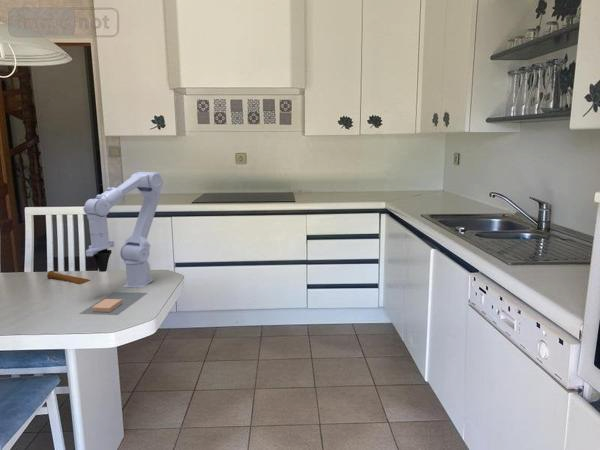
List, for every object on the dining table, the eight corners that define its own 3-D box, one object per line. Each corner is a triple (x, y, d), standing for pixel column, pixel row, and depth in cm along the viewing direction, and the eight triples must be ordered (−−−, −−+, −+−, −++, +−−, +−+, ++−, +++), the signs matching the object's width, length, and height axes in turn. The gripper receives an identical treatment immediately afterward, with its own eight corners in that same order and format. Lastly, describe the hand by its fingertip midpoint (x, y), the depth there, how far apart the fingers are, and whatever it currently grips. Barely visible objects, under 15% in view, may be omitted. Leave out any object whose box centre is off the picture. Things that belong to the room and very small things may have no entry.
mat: (114, 293, 164) (113, 292, 164) (147, 294, 162) (147, 292, 162) (79, 314, 144) (79, 313, 144) (117, 316, 142) (117, 314, 142)
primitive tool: (91, 281, 180) (90, 272, 180) (81, 285, 175) (80, 276, 175) (53, 277, 186) (52, 269, 186) (42, 281, 181) (41, 273, 180)
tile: (105, 298, 152) (91, 307, 144) (122, 299, 151) (109, 307, 144) (105, 303, 152) (92, 312, 145) (122, 303, 152) (109, 312, 144)
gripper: (100, 229, 164) (103, 265, 166) (75, 237, 150) (79, 277, 152) (118, 229, 163) (121, 265, 165) (95, 237, 149) (99, 277, 151)
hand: (102, 271), depth 159 cm, fingers closed
